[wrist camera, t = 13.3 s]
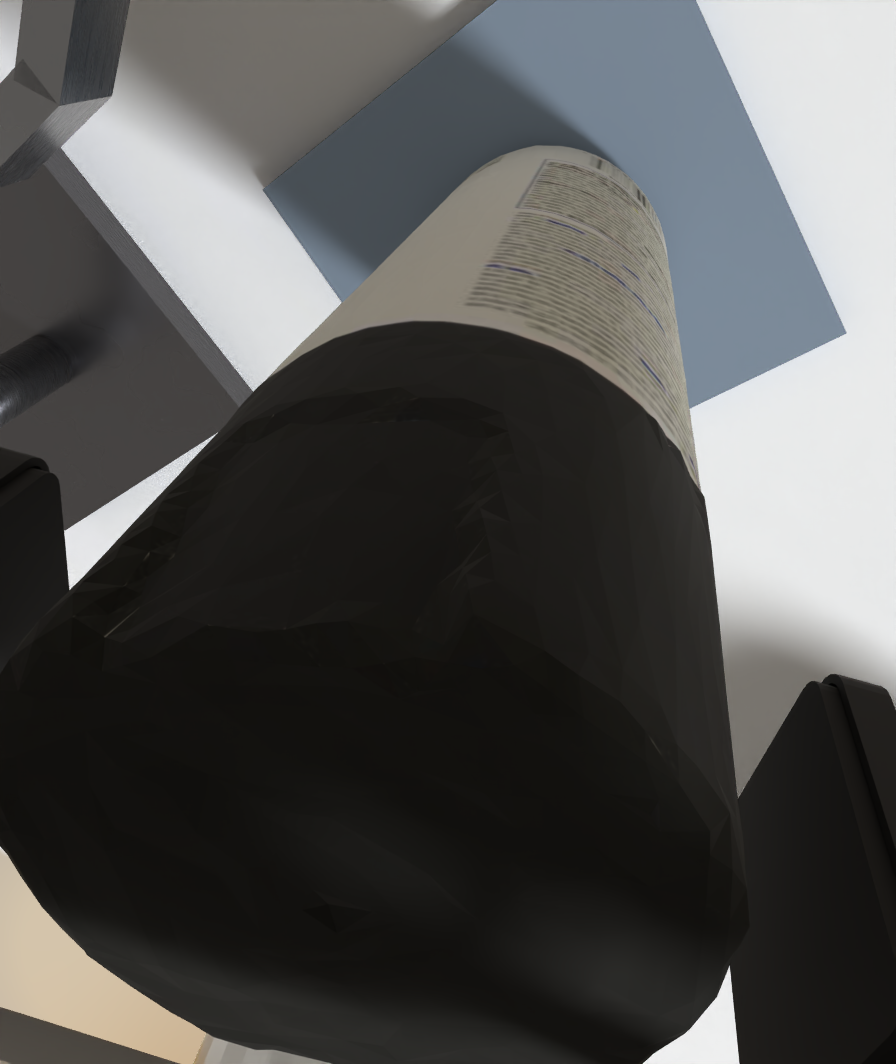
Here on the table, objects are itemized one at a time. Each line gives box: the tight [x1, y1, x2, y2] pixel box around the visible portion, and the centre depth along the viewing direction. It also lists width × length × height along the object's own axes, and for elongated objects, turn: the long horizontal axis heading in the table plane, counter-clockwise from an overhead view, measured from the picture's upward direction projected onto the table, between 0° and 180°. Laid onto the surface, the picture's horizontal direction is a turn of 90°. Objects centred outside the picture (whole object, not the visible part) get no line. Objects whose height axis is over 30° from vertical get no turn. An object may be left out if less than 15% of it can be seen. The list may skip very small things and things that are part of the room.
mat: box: [263, 0, 846, 409], centre depth 23 cm, size 12×12×1 cm
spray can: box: [0, 145, 750, 1064], centre depth 15 cm, size 7×7×20 cm
